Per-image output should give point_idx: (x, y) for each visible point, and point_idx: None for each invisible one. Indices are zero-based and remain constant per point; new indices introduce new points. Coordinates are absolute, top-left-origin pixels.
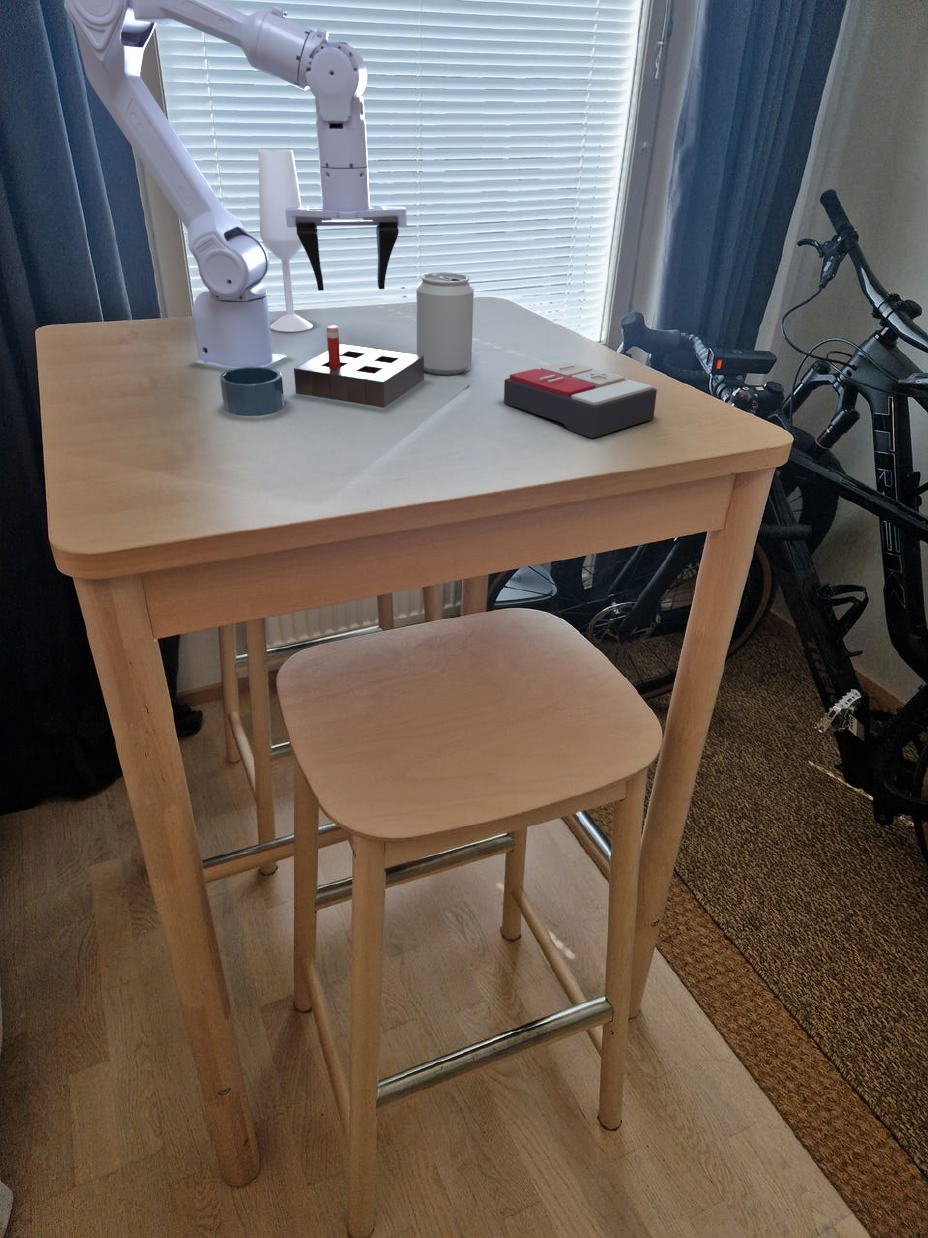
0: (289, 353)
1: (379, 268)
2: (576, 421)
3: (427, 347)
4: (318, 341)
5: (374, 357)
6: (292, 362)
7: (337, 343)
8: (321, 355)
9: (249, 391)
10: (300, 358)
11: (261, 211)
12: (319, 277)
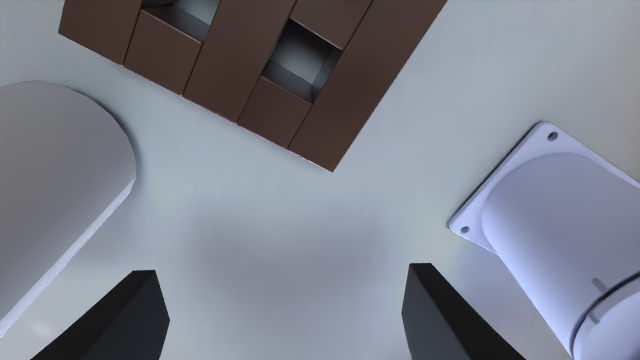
0: (432, 263)
1: (96, 340)
2: None
3: (63, 121)
4: (365, 326)
5: (227, 22)
6: (436, 207)
7: None
8: (400, 56)
9: None
10: (414, 232)
11: None
12: (446, 296)
